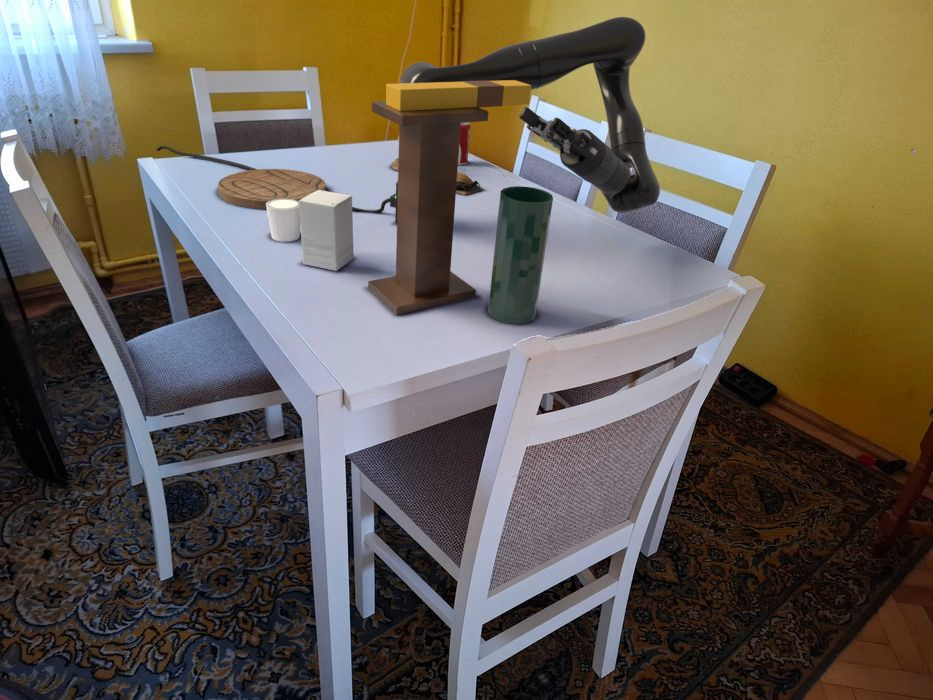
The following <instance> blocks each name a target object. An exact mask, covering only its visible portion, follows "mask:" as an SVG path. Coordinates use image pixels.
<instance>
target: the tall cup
mask: <svg viewBox="0 0 933 700" xmlns="http://www.w3.org/2000/svg"><path fill="white" fill-rule="evenodd" d="M553 202H554V197H553V194H552V193H550V192H548V191H546V190H544V189H540V188H537V187H532V186H521V185H519V186H518V185H517V186H515V185H514V186H507V187H504V188H502V189H501V190H500V194H499V201H498V203H499V204H498V210H497V211H498V213H497V222H496V230H495V231H496V232H495V241H494V250H493V257H492V258H493V260H492V270H491V279H490V287H489V297H488V308H487V311H488V314H489V315H490V316H491V318H492V319H495V320H497V321H498V322H502V323H506V324H509V325H510V324H512V325H523V324H526V323H529V322H531V321H533V320H534V319H535V317H536V312H537V308H538V302H539V296H540V289H541V283H542V282H541V281H542V276H543V269H544V260H545V254H546V247H547V242H548V241H547V240H548V235H549V228H550V221H551V215H552V208H553Z"/></svg>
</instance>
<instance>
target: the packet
mask: <svg viewBox="0 0 933 700" xmlns="http://www.w3.org/2000/svg"><path fill="white" fill-rule="evenodd" d="M531 92H532V90H531V85H529V84H526V83H522V82H519V81H516V80H502V81H462V82H435V83H401V84H400V83H385V101H386V105H388V106H390V107H392V108H394V109H397V110H399V111H414V110H433V109H452V108H471V107H477V108H492V107H493V108H495V107H496V108H497V107H503V106H504V107H505V106H525V105H530V99H531Z"/></svg>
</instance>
